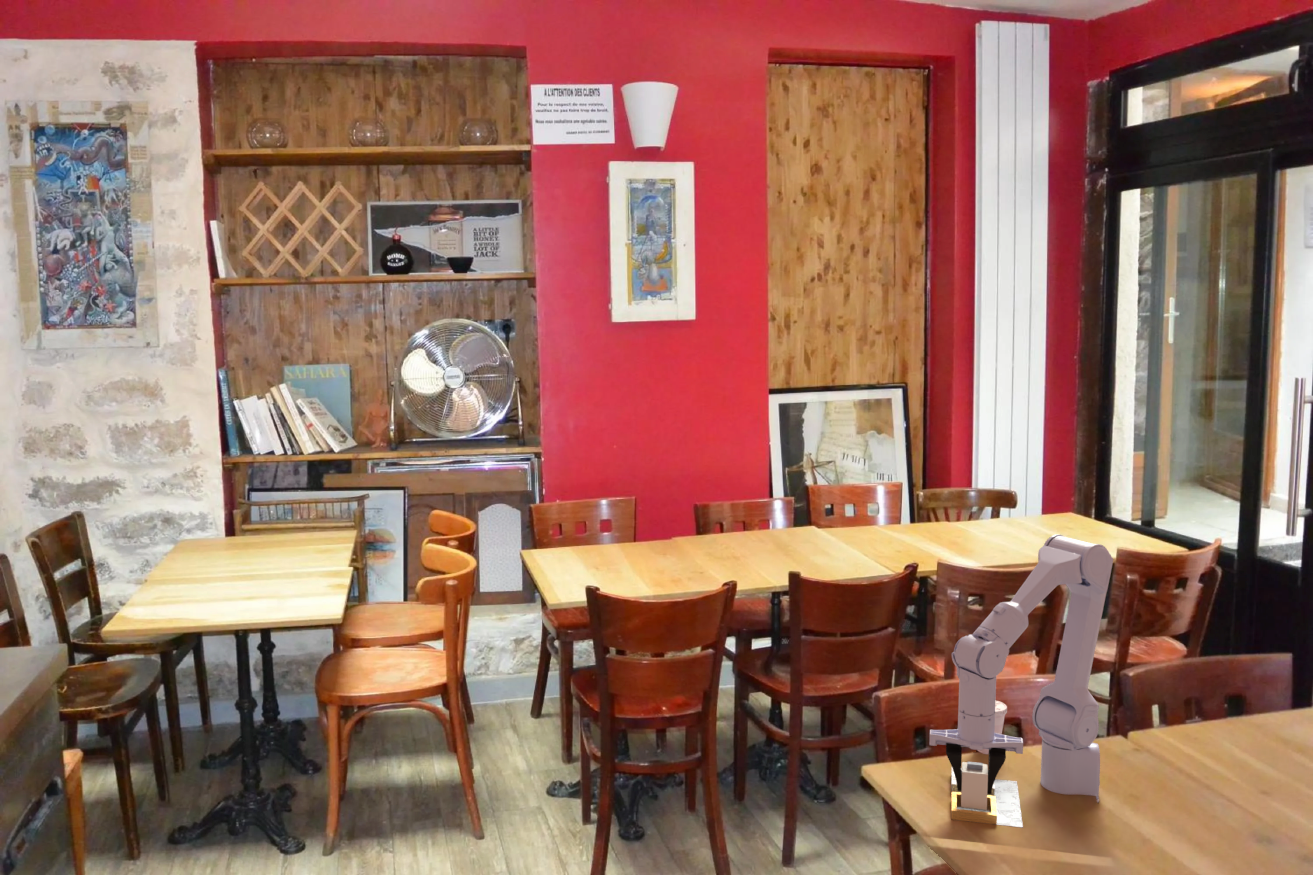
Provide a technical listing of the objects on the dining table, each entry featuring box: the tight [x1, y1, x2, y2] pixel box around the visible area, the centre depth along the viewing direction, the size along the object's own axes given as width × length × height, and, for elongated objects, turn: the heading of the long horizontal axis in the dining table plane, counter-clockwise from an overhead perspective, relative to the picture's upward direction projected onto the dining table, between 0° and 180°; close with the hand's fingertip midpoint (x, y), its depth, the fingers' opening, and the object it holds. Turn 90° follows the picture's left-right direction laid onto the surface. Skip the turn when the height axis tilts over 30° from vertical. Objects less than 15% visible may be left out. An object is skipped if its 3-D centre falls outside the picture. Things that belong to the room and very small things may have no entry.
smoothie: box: [976, 700, 1008, 755], centre depth 205 cm, size 6×6×14 cm
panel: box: [950, 767, 1024, 828], centre depth 185 cm, size 11×17×2 cm, turn 165°
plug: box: [961, 761, 988, 810], centre depth 181 cm, size 4×4×7 cm
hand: (974, 789), depth 181 cm, fingers closed on plug, 4 cm apart
